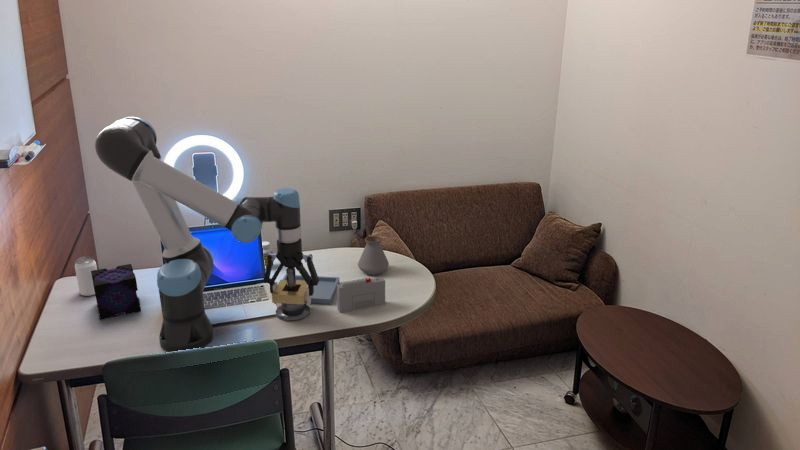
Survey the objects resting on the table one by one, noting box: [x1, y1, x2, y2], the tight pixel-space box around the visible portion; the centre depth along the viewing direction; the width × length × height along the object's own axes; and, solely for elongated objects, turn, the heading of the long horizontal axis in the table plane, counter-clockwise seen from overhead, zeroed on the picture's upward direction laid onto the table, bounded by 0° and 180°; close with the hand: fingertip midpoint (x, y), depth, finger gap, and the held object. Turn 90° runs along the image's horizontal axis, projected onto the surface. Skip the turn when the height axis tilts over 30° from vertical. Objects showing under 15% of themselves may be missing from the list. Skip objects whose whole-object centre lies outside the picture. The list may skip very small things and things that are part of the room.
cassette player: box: [336, 276, 386, 314], centre depth 195 cm, size 16×3×10 cm, turn 112°
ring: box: [271, 279, 307, 305], centre depth 191 cm, size 12×10×3 cm
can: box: [74, 256, 98, 297], centre depth 201 cm, size 6×6×12 cm
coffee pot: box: [357, 219, 390, 276], centre depth 224 cm, size 21×12×15 cm, turn 13°
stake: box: [275, 267, 311, 322], centre depth 189 cm, size 11×11×16 cm
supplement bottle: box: [261, 241, 274, 268], centre depth 223 cm, size 5×5×10 cm
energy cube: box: [91, 263, 142, 321], centre depth 192 cm, size 12×12×12 cm
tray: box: [281, 274, 340, 306], centre depth 206 cm, size 17×20×2 cm
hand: (292, 302), depth 191 cm, fingers closed on ring, 10 cm apart
